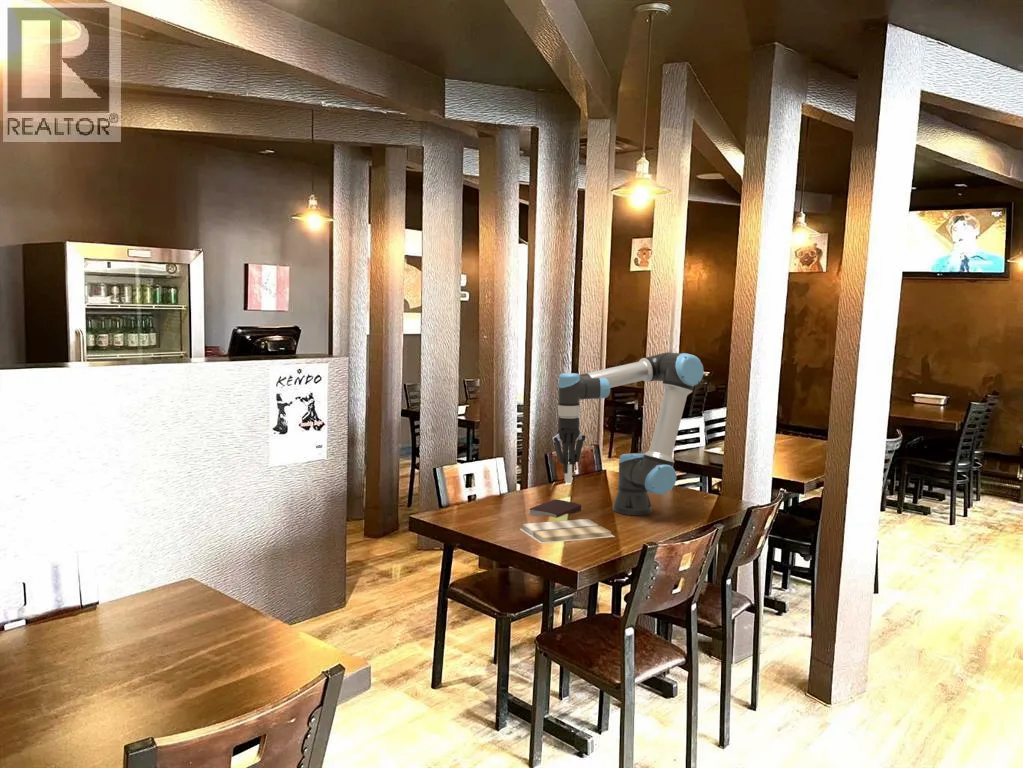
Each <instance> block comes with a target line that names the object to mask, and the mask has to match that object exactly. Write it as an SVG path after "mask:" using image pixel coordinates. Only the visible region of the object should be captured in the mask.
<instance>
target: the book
mask: <svg viewBox="0 0 1023 768" xmlns="http://www.w3.org/2000/svg"><path fill="white" fill-rule="evenodd" d="M581 510H582V504H580V503H577V502H576V503H575V502H571V501H567V500H562V499H552V500H549V501H546V502H544V503H541V504H538V505H536V506H532V507H531V508H529V511H530V513H529V514H531V515H530V516H534V515H535V516H536V517H540V516H542V517H543V516H548V517H549V516H550V517H554V518H560V517H562V516H564V515H566V514H568V515H569V514H575V513H578V512H580V511H581ZM577 511H578V512H577ZM535 516H534V517H535Z"/></svg>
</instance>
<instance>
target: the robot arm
mask: <svg viewBox="0 0 1023 768" xmlns="http://www.w3.org/2000/svg"><path fill="white" fill-rule="evenodd" d="M703 376H704V365H703V363H702V362H701V359H700V358H699V357H697V356H696V355H694V354H690V353H686V352H684V353H683V352H669V351H668V352H661V353H657V354H654V355H650V356H645V357H643V358H640V359H639V360H638V361H636V362H635V361H634V362H631V363H627V364H623V365H618V366H613V367H608V368H603V369H599V370H595V371H590V372H585V373H580V374H579V373H577V372H576V373H574V372H569V373H568V372H564V373H560V375H558V385H557V388H558V389H557V390H558V391H557V393H558V398H557V399H558V401H557V402H558V406H557V407H558V411H557V413H558V414H557V415H558V416H559V417H558V418H557V419H558V420H557V423H558V424H557V428H558V429H557V430H558V431H557V433H556V435H555V436H551V439H550V440H551V441H552V443H553V444H554V449H555V450H554V451H555V454H556V458H557V462H558V463H560V464H562V474H564V482H565V483H567V484H572V483H573V474H574V473H575V465H576V463H578V462H580V458H581V454H582V448H583V444H584V442H585V440H586V435H584V434H582V433H581V431H580V401H581V400H596V399H597V400H601V399H606V398H608V397H609V396H610V393H611V389H612V388H615V387H620V386H626V385H630V384H633V383H638V382H641V381H643V382H645V383H649V382H662V383H661V385H662V387H663V388H664V392H663V396H662V400H661V402H660V403H661V404H660V408H659V411H658V415H657V419H656V424H655V426H654V431H653V434H652V439H651V442H650V447H649V449H648V451H646V452H645V453H642V452H641V453H640V452H639V453H637V452H636V453H633V452H632V453H623V454H621V455H620V456H619V461H618V483H617V484H618V485H617V487H618V488H617V493H616V496H615V498H614V501H613V504H612V511H613V512H615V513H617V514H621V515H626V516H647V515H650V514H651V513H652V504H651V500H650V496H649V493H650V494H656V495H664V494H667V493H668V492H670V491H671V490H672V489H673V488H674V486H675V485H676V482H677V473H676V470H675V468H674V465H675V460H674V458H673V454H674V453H673V452H674V448H675V445H676V440H677V438H678V437H677V436H678V433H679V429H680V426H681V421H682V417H683V413H684V410H685V405H686V402H687V397H688V396H689V395H690V394H691V393H693V391H694V387H695V386H696V385H698V384H699V383H700V382H701V381H702V380H703ZM560 440H561V442H560Z"/></svg>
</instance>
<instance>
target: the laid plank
mask: <svg viewBox="0 0 1023 768" xmlns="http://www.w3.org/2000/svg"><path fill="white" fill-rule="evenodd" d="M611 535H612V531H611V530H609V529H607V528H606V527H604V526H601V525H599V526H596V527H584V528H572V529H560V530H548V531H536V532H533V536H534V537H535V538H537V539H538V540H540V541H541V542H551V541H562V540H573V539H584V538H595V537H606V536H611ZM606 538H607V537H606Z"/></svg>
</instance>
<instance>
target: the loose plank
mask: <svg viewBox="0 0 1023 768" xmlns="http://www.w3.org/2000/svg"><path fill="white" fill-rule="evenodd" d="M596 526H600V525H599V524H598V523H596V522H594V521H593V520H592V519H589V518H583V519H582V518H581V519H572V520H571V519H570V520H569V519H568V520H559V521H558V520H555V521H547V522H546V521H544V522H543V521H542V522H532V523H531V522H530V523H523V524H522V525H521V529H524V530H525V531H527V532H528V533H529V534H531V535H533V532H536V531H548V530H560V529H572V528H584V527H596Z"/></svg>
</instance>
